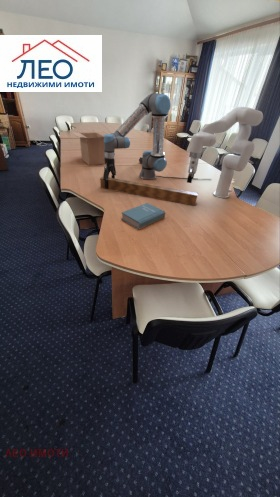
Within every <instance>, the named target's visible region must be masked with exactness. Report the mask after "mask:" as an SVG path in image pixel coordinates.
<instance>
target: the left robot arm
mask: <svg viewBox="0 0 280 497" xmlns="http://www.w3.org/2000/svg"><path fill="white" fill-rule="evenodd" d="M171 107H172V101H171V99H170V97H169V96H168V95H167V94H164V93H159V92H158V93H157V92H152V93H150V94H148V95H147V96H146V97H144V99H143V100H142V101H140V103H138V106H137V108H136V109H135V110H134V111H133V112H132V113H131V114H130V115H129V116H128V117H127V118H126V119H125V121H124V122H123V123H122V124H121V125H120V126H119V127H118V128H117V129H116V130H115V131H114V132H111V133H107V134H105V135H104V157H105V163H106V164H105V165H106V166H104V169H103V170H104V171H103V176H104V177H103V176H102V177H103V180H105V188H106V189H105V190H109V186H108V177H110V178H115V179H116V176H117V170H116V162H115V161H116V160H115V156H116V152H115V150H119V149H120V150H121V149H129V148H130V146H131V140H130V138H129V137H128V136H127V135H128V134H129V133H130V132H131V131H132V130H133V129H134V128H135V127H136V126H137V125H138V123H140V121H141V120H142V119H143V118H144V117H145V116H148V115H149V114H150V113H151V117H152V119H153V125H152V126H153V127H152V128H153V129H152V150H144V151H143V152H142V157H143V158H142V157H141V158H142V163H141V169H140V172H139V178H140V179H142V180H146V181H154V180H156V178H162V179H181V180H187V178H188V177H175V176H163V175H162V176H161V175H157V174H156V172H159V173H161V172H163V170H165V169H166V168H167V164H168V160H167V159H166V158H165V152H164V144H165V143H164V140H165V124H166V118H167V117H168V113H169V112H170V110H171ZM110 173H111V175H110ZM192 180H197V178H194V177H193V179H192Z"/></svg>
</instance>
